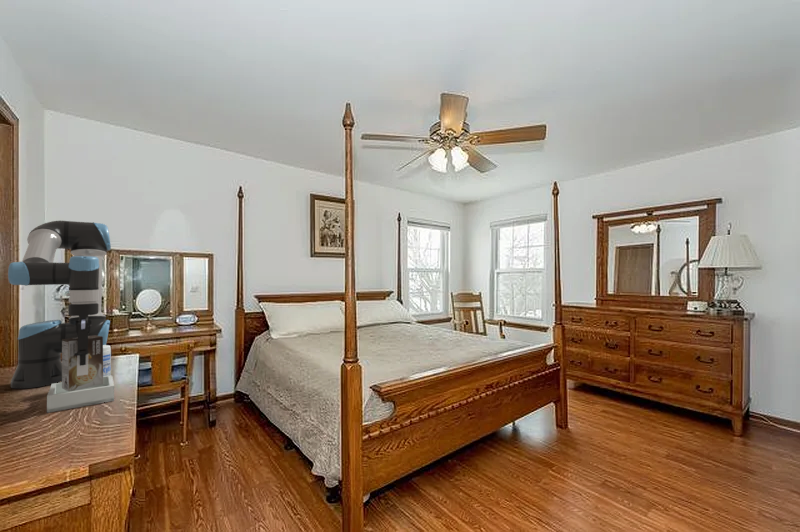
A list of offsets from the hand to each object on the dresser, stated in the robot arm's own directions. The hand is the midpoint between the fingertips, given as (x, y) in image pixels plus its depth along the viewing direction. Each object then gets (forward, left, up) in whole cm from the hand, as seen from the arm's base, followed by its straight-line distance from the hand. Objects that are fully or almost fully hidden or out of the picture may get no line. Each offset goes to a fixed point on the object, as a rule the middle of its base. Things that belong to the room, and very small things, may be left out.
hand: (82, 372), depth 120 cm
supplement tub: (-17, +3, -10) cm, 20 cm away
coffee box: (0, 0, -5) cm, 5 cm away
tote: (-2, 0, -10) cm, 10 cm away
